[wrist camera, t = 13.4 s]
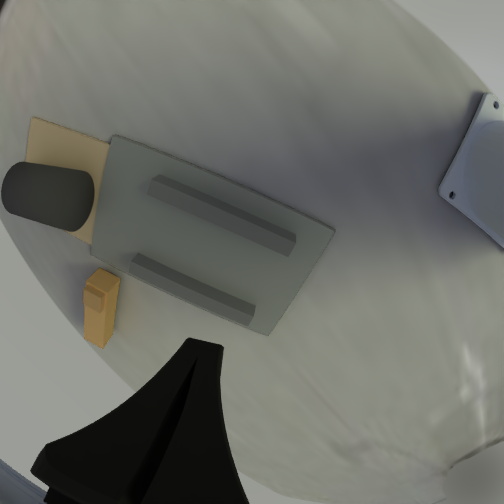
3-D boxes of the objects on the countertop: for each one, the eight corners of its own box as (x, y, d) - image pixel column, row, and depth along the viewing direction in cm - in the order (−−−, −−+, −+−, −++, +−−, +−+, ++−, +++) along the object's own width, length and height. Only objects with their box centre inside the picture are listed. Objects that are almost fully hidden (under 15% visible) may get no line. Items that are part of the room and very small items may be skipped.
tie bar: (120, 278, 21) (103, 297, 19) (112, 334, 24) (99, 353, 22) (99, 267, 21) (81, 285, 19) (94, 324, 24) (81, 342, 22)
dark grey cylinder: (98, 169, 18) (62, 172, 14) (91, 225, 19) (57, 238, 15) (31, 159, 18) (-4, 162, 14) (27, 207, 19) (-7, 216, 15)
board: (334, 228, 18) (337, 240, 16) (268, 332, 22) (266, 347, 21) (35, 107, 16) (21, 110, 14) (24, 213, 20) (12, 220, 19)
